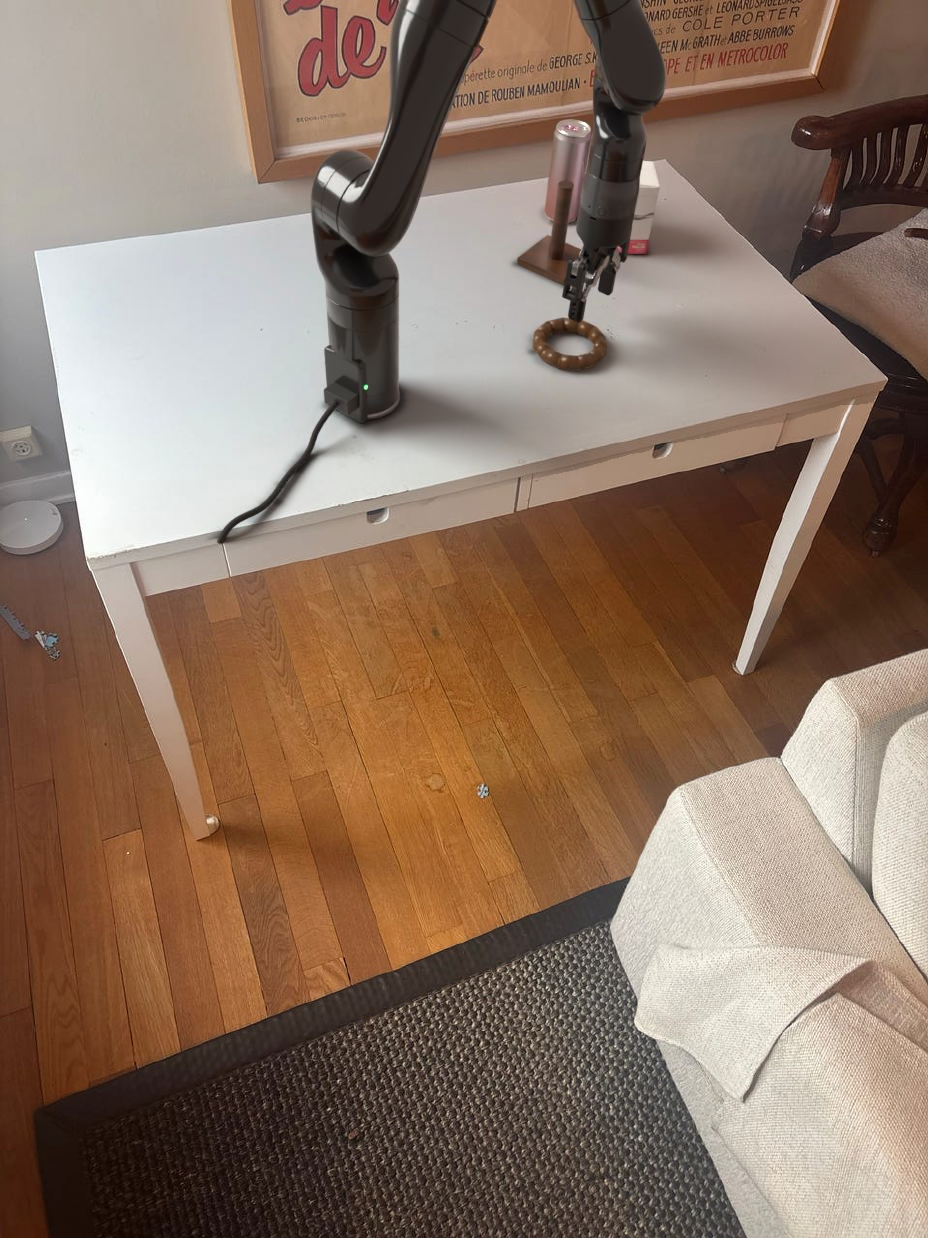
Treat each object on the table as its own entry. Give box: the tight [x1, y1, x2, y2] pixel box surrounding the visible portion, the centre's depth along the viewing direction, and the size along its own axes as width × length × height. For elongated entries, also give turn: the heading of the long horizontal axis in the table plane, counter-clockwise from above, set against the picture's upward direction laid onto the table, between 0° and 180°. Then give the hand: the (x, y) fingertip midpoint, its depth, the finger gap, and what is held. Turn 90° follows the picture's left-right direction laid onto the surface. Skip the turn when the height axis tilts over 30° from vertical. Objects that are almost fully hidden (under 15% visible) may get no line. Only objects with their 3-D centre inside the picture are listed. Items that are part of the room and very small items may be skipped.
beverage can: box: [544, 118, 592, 224], centre depth 160 cm, size 6×6×15 cm
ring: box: [532, 317, 608, 371], centre depth 143 cm, size 11×11×2 cm
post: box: [516, 181, 582, 286], centre depth 152 cm, size 9×9×13 cm
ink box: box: [617, 160, 661, 255], centre depth 158 cm, size 9×5×12 cm, turn 0°
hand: (590, 305), depth 142 cm, fingers open, 8 cm apart
